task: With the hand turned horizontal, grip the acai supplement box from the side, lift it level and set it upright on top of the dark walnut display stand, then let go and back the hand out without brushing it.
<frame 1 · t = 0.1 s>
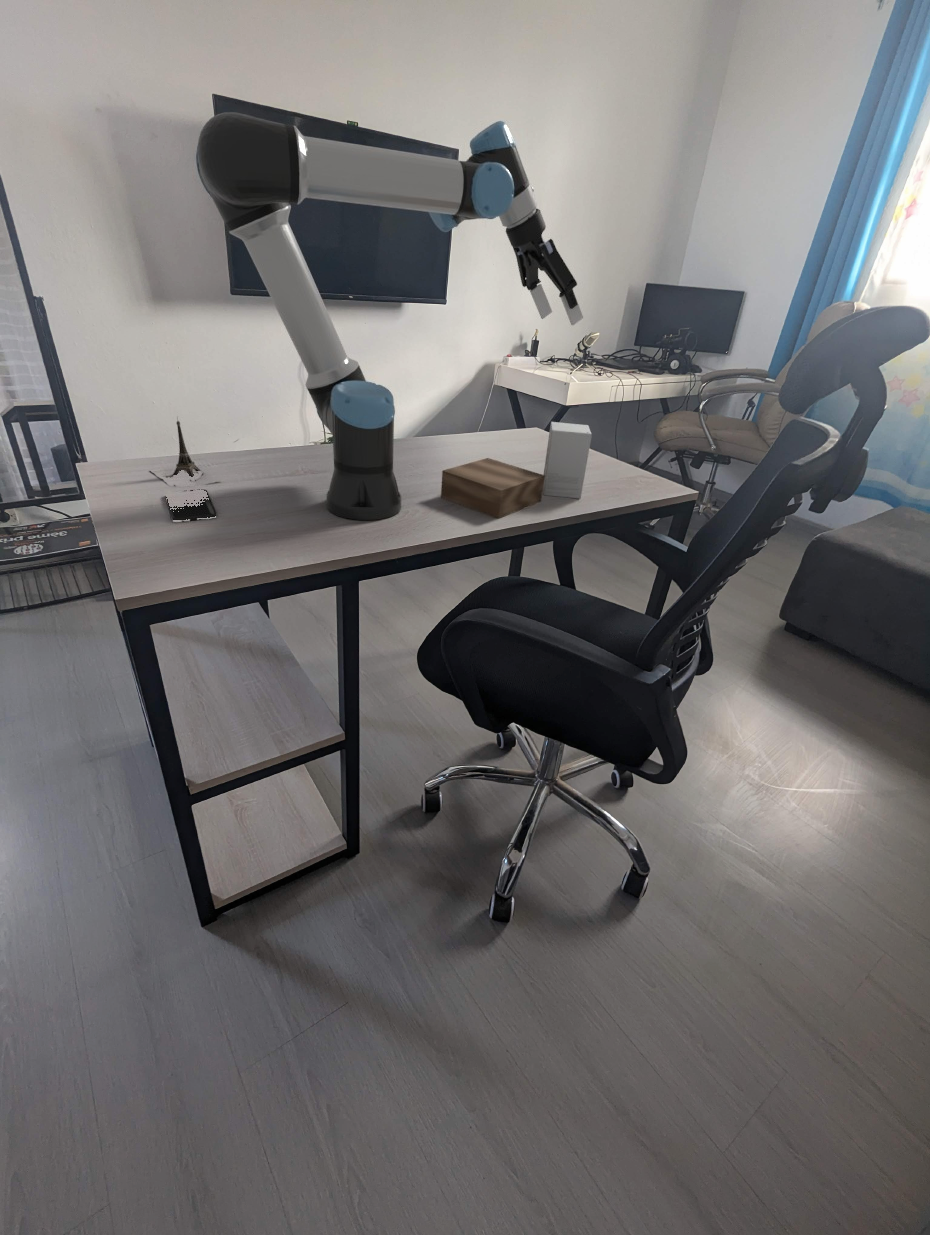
hand: (561, 318, 129), 36 cm above the table, tool tilted 35°, fingers open, 13 cm apart
eiffel tower figurine: (185, 479, 128), on the table
phone: (190, 509, 114), on the table
walnut stand: (491, 499, 130), on the table
supplement box: (560, 492, 139), on the table
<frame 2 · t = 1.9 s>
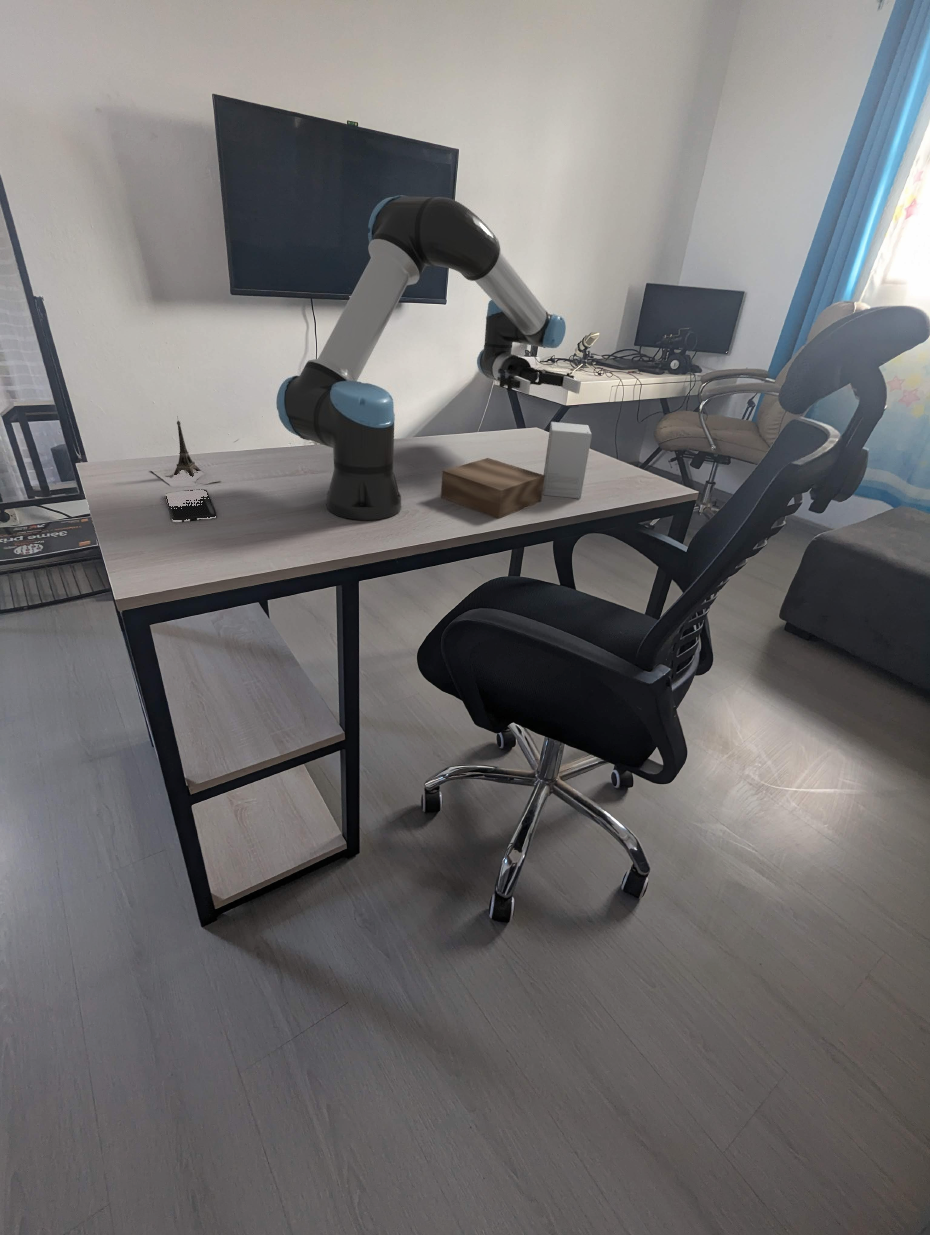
hand: (554, 387, 136), 21 cm above the table, tool horizontal, fingers open, 13 cm apart
nothing on the table moved.
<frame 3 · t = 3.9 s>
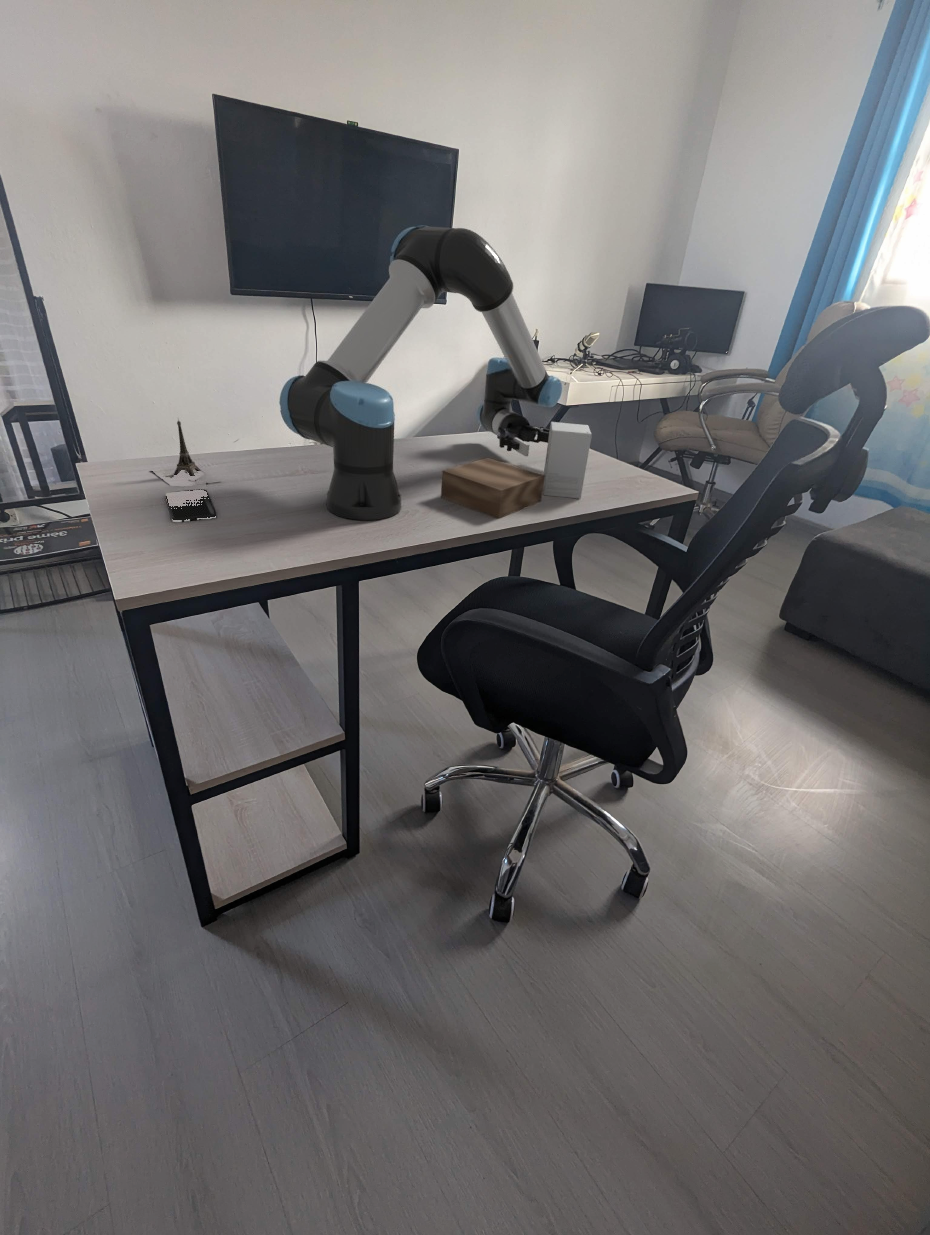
hand: (552, 449, 141), 8 cm above the table, tool horizontal, fingers open, 13 cm apart
nothing on the table moved.
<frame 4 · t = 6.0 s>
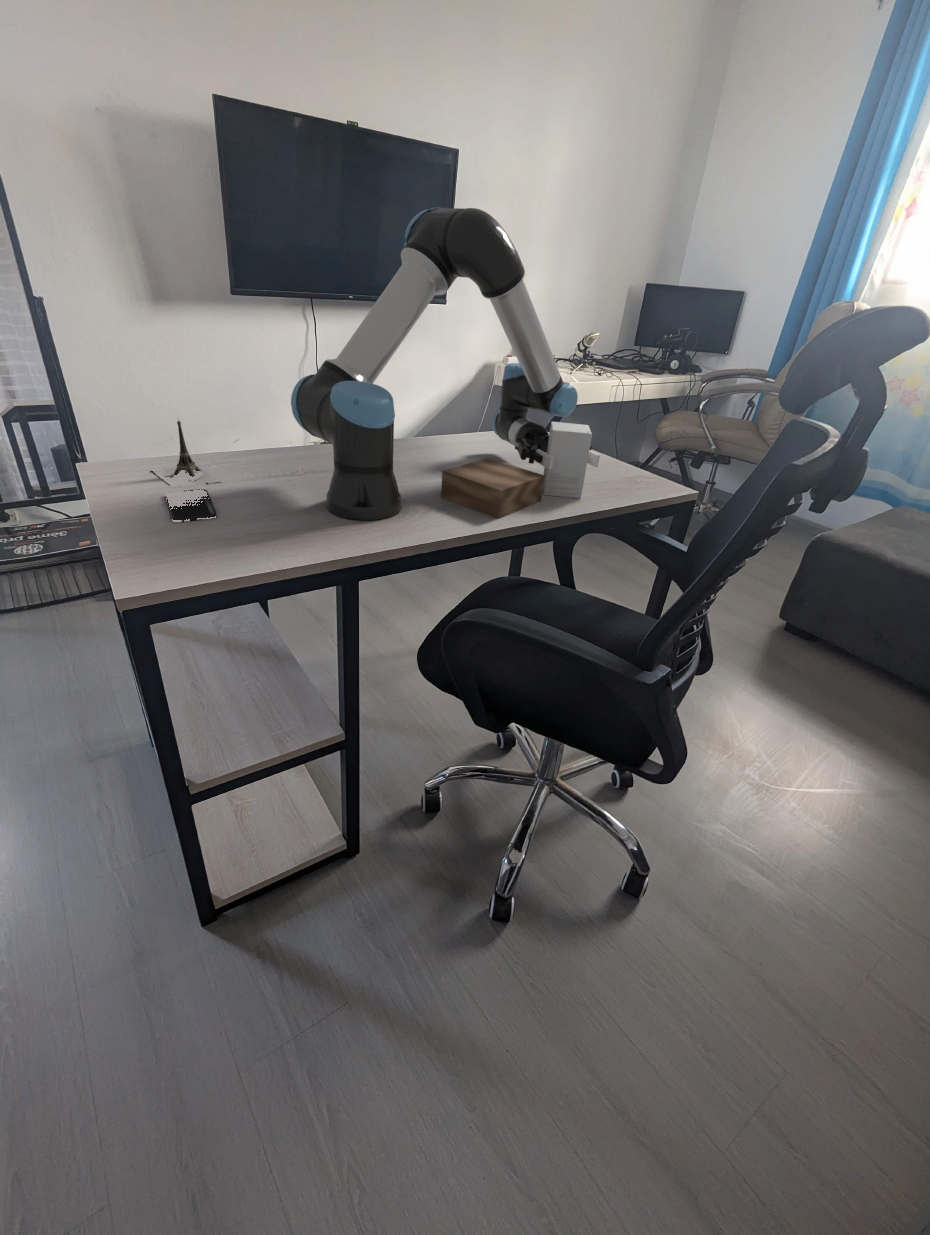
hand: (574, 462, 132), 8 cm above the table, tool horizontal, fingers closed on supplement box, 12 cm apart
supplement box: (560, 491, 139), on the table, touching gripper
everything else where it was.
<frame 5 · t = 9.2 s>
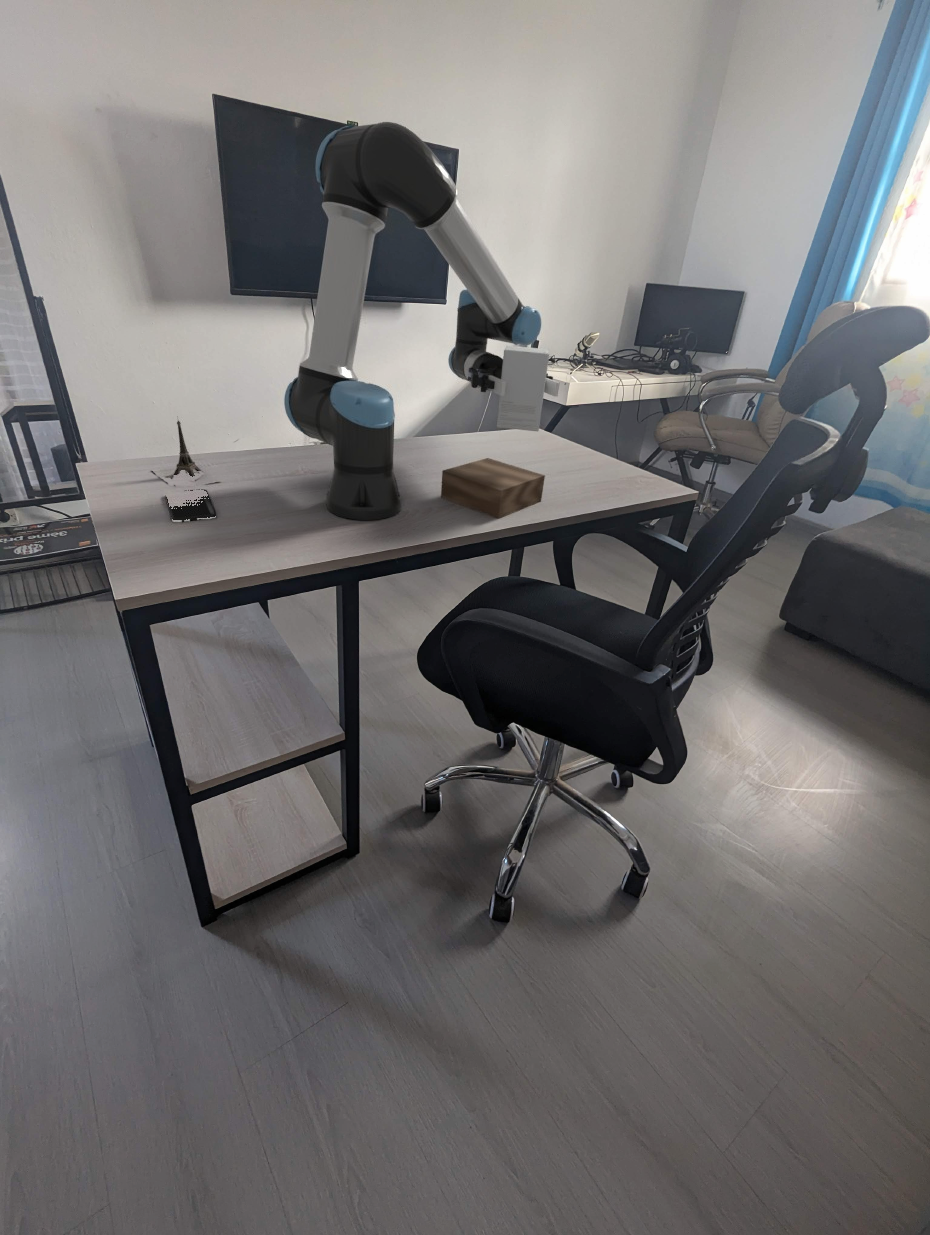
hand: (530, 389, 118), 24 cm above the table, tool horizontal, fingers closed on supplement box, 12 cm apart
supplement box: (517, 426, 125), point 16 cm above the table, touching gripper
everything else where it was.
when the fingers open (15 cm above the table, at t = 12.2 s): supplement box drops 1 cm, resting on walnut stand.
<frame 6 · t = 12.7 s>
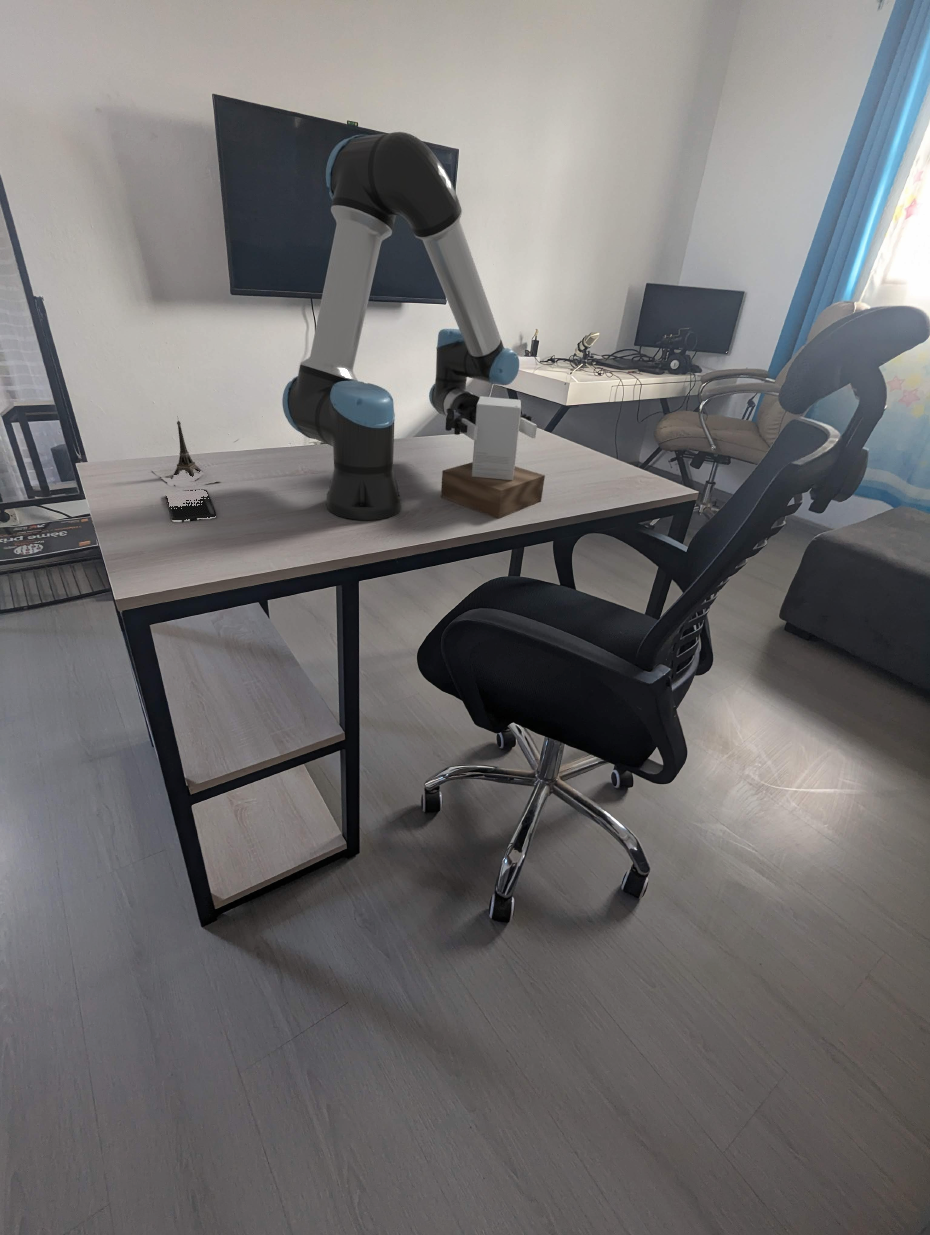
hand: (505, 432, 120), 15 cm above the table, tool horizontal, fingers open, 13 cm apart
supplement box: (492, 473, 127), point 6 cm above the table, touching walnut stand
everything else where it was.
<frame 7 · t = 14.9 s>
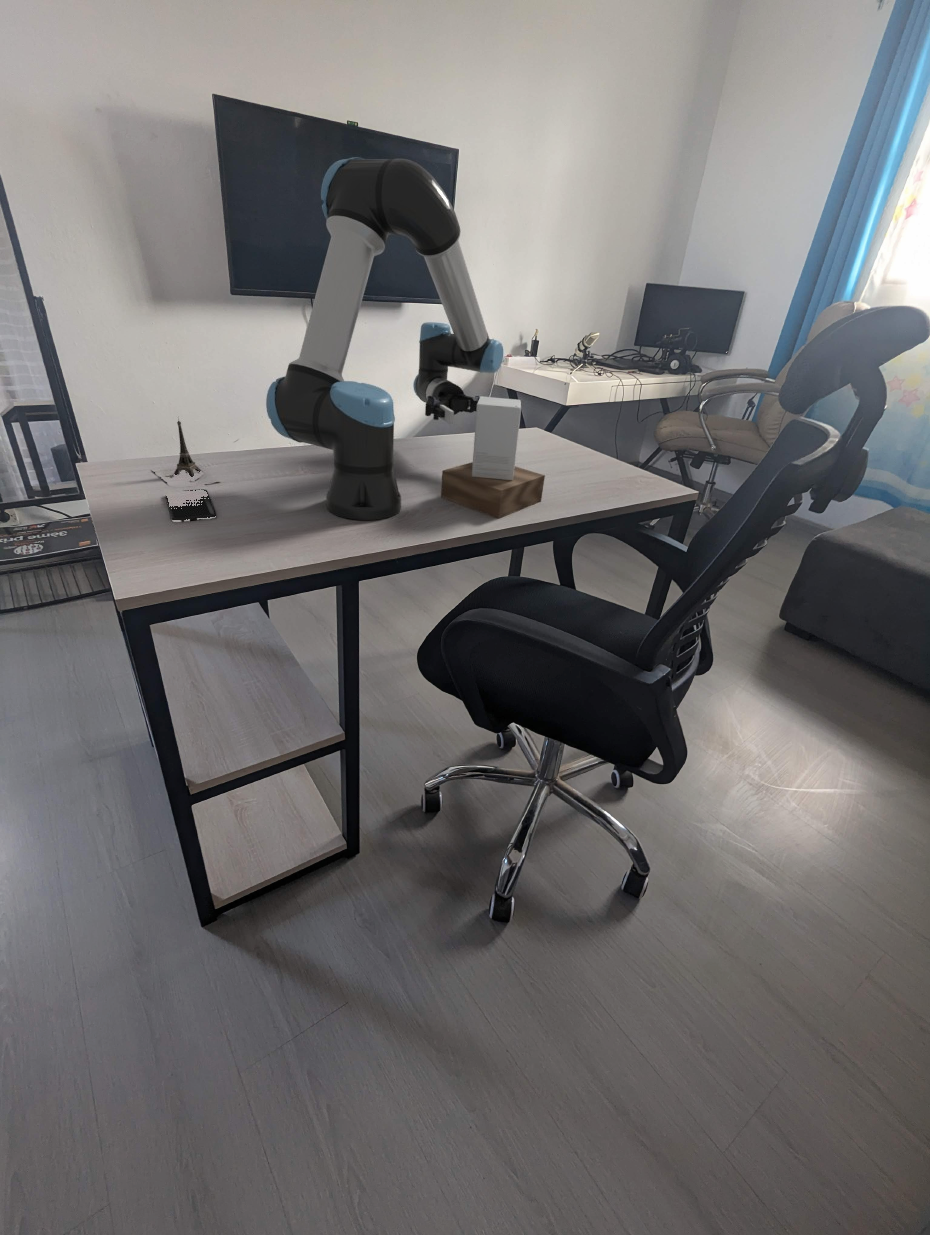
hand: (480, 417, 130), 16 cm above the table, tool horizontal, fingers open, 13 cm apart
nothing on the table moved.
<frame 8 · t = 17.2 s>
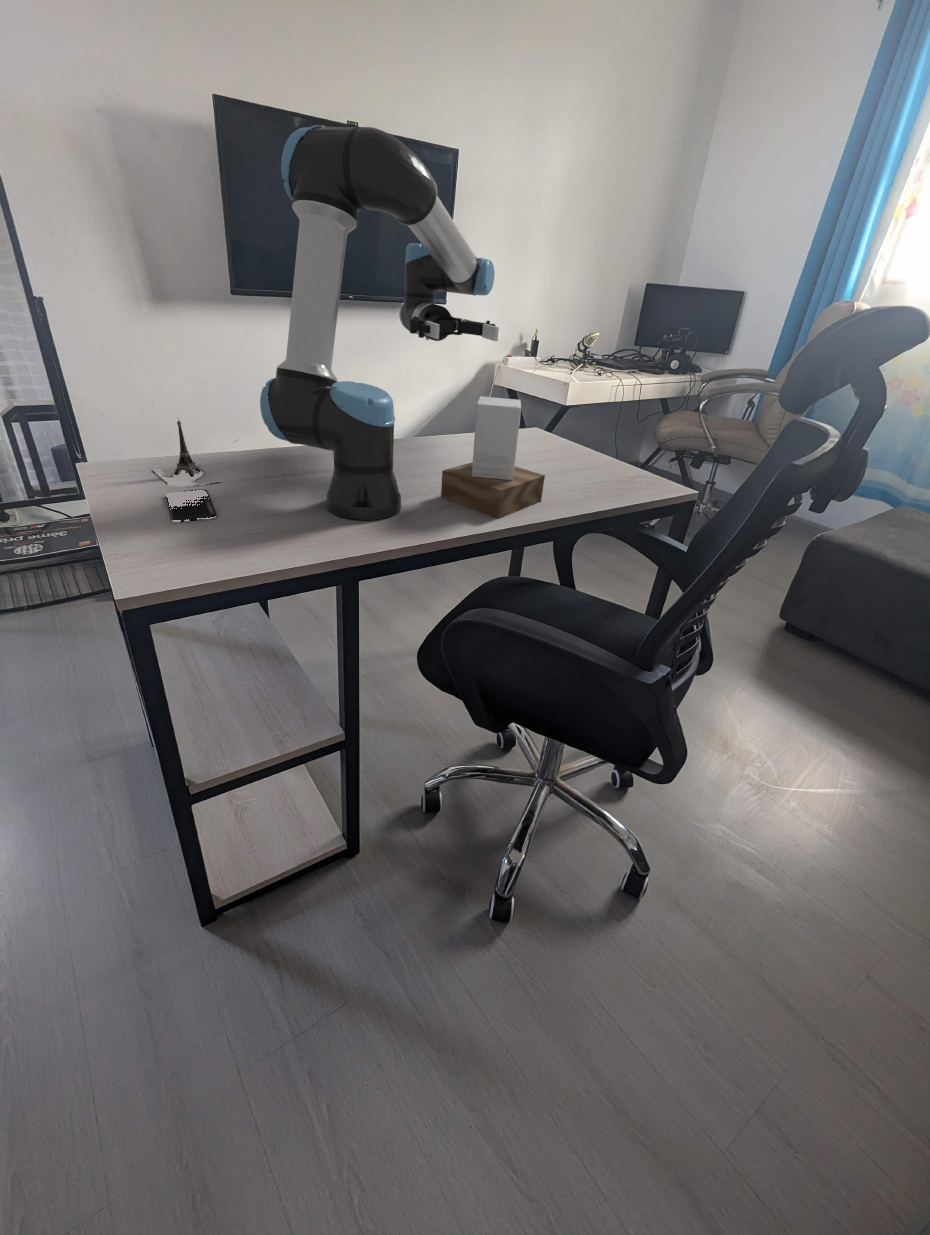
hand: (467, 333, 123), 32 cm above the table, tool horizontal, fingers open, 13 cm apart
nothing on the table moved.
at the end: supplement box inside the target area on the walnut stand (0.3 cm from its centre), point 5.8 cm above the walnut stand's base; supplement box tilted 0°; the gripper is holding nothing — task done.
